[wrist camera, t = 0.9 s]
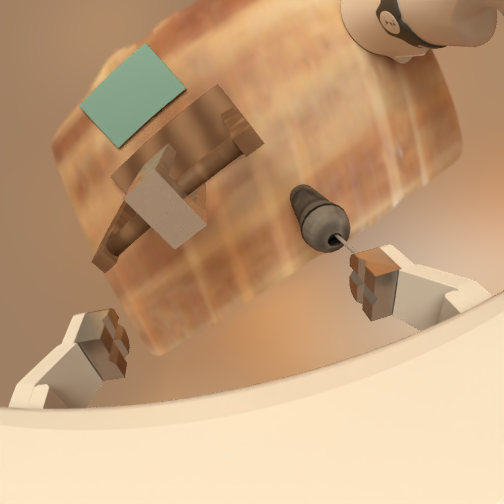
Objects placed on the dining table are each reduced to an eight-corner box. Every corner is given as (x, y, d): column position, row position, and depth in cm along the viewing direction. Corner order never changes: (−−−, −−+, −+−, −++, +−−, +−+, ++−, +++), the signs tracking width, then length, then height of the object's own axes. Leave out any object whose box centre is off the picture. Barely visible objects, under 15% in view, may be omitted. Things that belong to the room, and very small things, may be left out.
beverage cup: (275, 188, 52) (312, 250, 35) (313, 169, 51) (367, 222, 34) (292, 221, 55) (330, 291, 39) (327, 203, 54) (379, 265, 38)
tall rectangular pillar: (168, 143, 34) (154, 169, 24) (205, 184, 37) (206, 225, 28) (143, 164, 34) (122, 198, 25) (181, 204, 38) (175, 249, 29)
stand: (217, 84, 41) (227, 87, 23) (256, 133, 46) (293, 173, 28) (112, 174, 46) (62, 239, 27) (152, 214, 51) (128, 297, 32)
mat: (146, 43, 36) (145, 43, 35) (186, 88, 41) (185, 88, 40) (80, 105, 38) (79, 106, 38) (119, 147, 44) (118, 148, 43)
